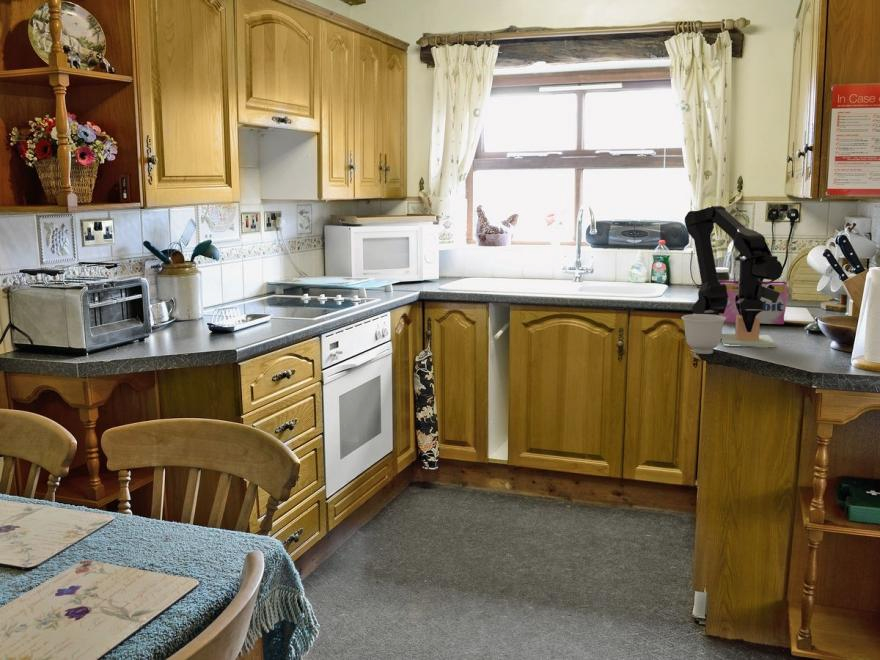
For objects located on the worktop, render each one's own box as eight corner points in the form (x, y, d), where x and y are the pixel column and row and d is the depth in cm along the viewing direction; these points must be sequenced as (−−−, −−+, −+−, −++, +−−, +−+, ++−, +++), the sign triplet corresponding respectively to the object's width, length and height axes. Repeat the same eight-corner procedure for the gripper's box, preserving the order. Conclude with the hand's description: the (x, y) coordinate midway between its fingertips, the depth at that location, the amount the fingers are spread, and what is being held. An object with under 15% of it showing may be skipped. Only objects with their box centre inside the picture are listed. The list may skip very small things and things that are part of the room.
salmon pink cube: (737, 340, 244) (738, 318, 242) (735, 336, 249) (736, 314, 248) (758, 340, 242) (759, 318, 241) (756, 337, 248) (757, 315, 247)
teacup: (712, 345, 242) (713, 311, 241) (731, 355, 228) (733, 320, 226) (671, 346, 242) (672, 313, 240) (688, 357, 227) (689, 321, 226)
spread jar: (730, 297, 342) (731, 269, 340) (702, 297, 344) (703, 269, 342) (726, 293, 353) (727, 266, 351) (699, 293, 355) (700, 266, 353)
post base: (724, 346, 241) (724, 325, 240) (719, 337, 254) (720, 317, 253) (775, 347, 238) (776, 326, 236) (768, 338, 251) (769, 318, 250)
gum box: (787, 321, 282) (789, 281, 280) (788, 324, 275) (790, 284, 273) (713, 318, 290) (715, 280, 288) (712, 322, 283) (714, 282, 281)
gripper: (783, 280, 232) (781, 335, 234) (774, 273, 250) (771, 324, 252) (741, 280, 234) (739, 334, 237) (735, 273, 252) (733, 323, 255)
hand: (747, 329), depth 245 cm, fingers open, 9 cm apart
